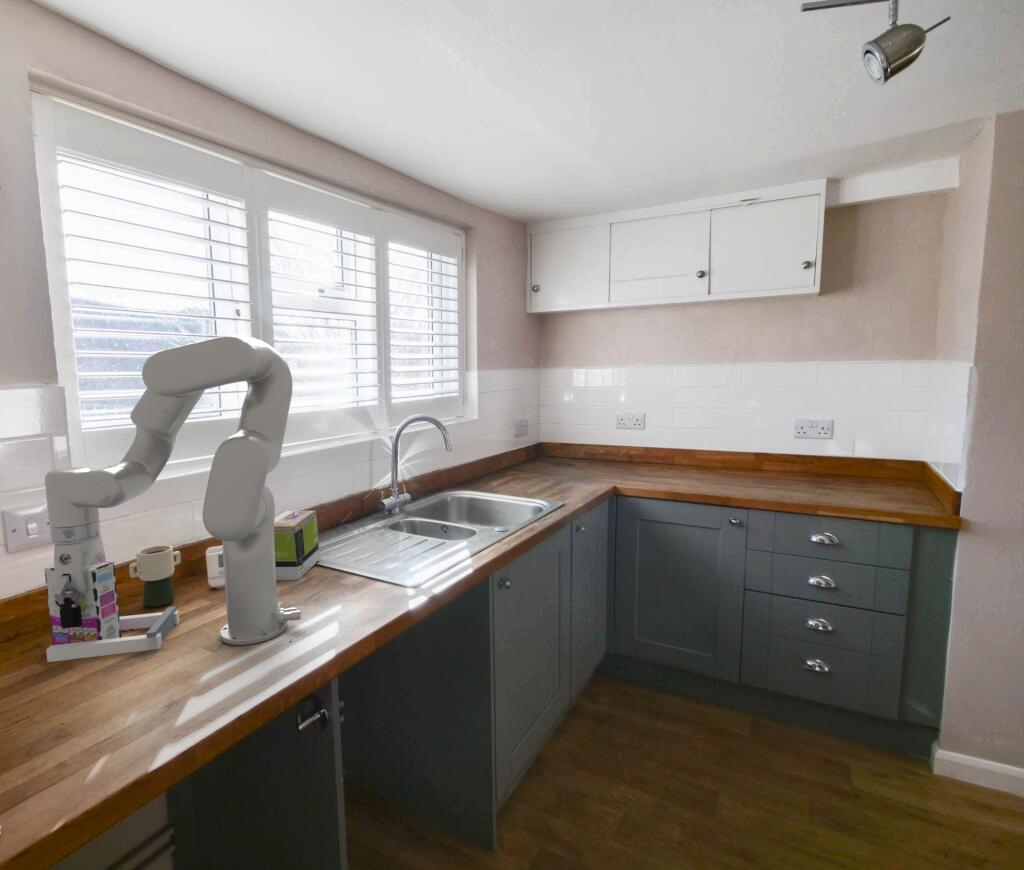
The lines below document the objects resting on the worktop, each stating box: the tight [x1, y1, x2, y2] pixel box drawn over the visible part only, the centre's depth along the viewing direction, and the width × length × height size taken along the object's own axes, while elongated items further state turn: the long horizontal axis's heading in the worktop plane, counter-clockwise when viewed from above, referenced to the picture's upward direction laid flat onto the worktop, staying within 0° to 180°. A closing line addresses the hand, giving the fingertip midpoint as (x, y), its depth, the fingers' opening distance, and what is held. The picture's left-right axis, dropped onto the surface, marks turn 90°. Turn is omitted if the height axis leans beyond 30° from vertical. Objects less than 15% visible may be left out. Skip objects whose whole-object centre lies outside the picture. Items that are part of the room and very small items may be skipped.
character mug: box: [128, 544, 182, 607], centre depth 127 cm, size 11×7×13 cm, turn 148°
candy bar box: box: [44, 561, 122, 645], centre depth 109 cm, size 11×5×16 cm, turn 82°
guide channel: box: [45, 605, 180, 663], centre depth 111 cm, size 18×12×4 cm, turn 105°
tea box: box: [274, 510, 321, 581], centre depth 148 cm, size 15×10×15 cm, turn 178°
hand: (84, 615), depth 109 cm, fingers open, 9 cm apart
